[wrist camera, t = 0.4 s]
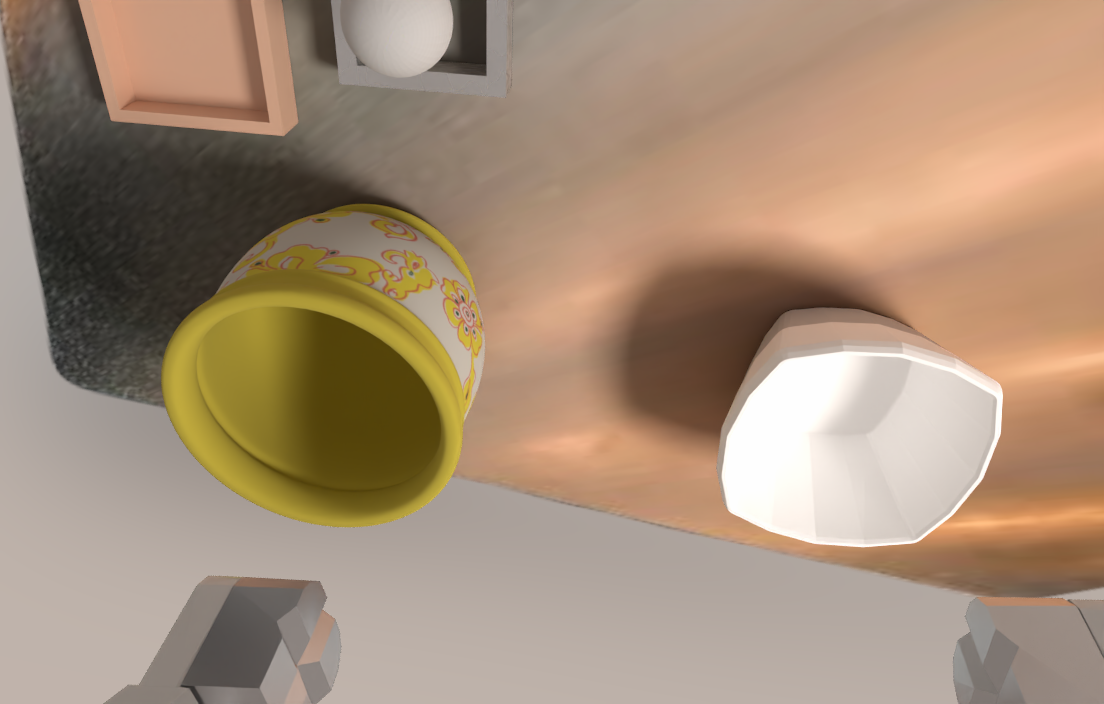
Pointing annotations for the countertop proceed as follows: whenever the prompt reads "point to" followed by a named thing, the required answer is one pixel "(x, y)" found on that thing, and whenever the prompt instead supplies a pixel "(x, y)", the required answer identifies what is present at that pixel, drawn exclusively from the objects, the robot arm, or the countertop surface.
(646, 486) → the countertop surface
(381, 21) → the light bulb
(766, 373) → the bowl
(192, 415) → the flowerpot
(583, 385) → the countertop surface
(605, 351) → the countertop surface
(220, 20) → the tray
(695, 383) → the countertop surface
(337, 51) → the socket collar
